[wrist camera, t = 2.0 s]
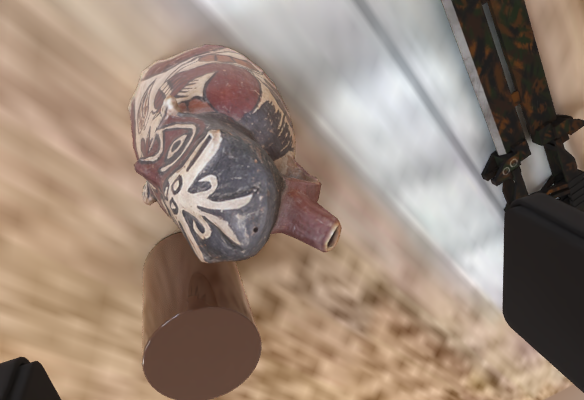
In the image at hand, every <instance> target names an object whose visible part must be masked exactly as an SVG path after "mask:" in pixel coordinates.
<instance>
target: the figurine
mask: <svg viewBox="0 0 584 400" xmlns="http://www.w3.org/2000/svg"><path fill="white" fill-rule="evenodd" d="M128 110H129V113H130V119H131V130H132V137H133V148H134V151H135V154H136V157H137V160H138V161H137V162H136V163H135V164H134V167H135V170H136V172H137V173H138V174H140V175H142V176H143V177H144V178H145V179H146V180H147V181H146V184H145V185H144V187H143V192H142V196H143V200H144V202H145V203H146V204H148V205H151V204H153V203H154V202H156V201H157V202H158V203H159V205H160V207H161V208H162V209H163V210H164V212H165V213H166V214H167V215H168V216H169V217H170V218H171V219H172V220H173V221H174V222H175V223H176V224H177V226H178V227H179V228H180V229H181V231H182V233H183V234H184V236H185V238H186V239H187V241H188V243H189V245H190V247H191V248H192V250H193V252H194V254H195V255H196V256H197V257H198V258H199V259H200V260H201V262H205V263H215V262H223V261H239V260H245V259H248V258H250V257H252V256H254V255H256V254H257V253H258V252H259V251H260V249H261V248H262V247H263V246H264V245H265V243H266V242H267V241H268V239H269V237H270V234H274V233H284V234H286V235H289V236H291V237H294V238H296V239H298V240H300V241H302V242H304V243H306V244H308V245H310V246H312V247H314V248H316V249H318V250H320V251H322V252H328V251H330V250H332V249H333V248H334V247H335V246H336V244H337V242H338V239H339V236H340V232H341V225H340V222H339V220H338V219H337V218H336V217H335V216H333V215H332V214H331V213H329V212H328V211H327V210H326V209H324V208H323V207H322V206H320V205H319V204H318V203H317V201H318V198H319V193H320V188H321V183H320V182H319V181H318V179H317V178H316V177H313V176H310V175H309V174H308V173H307V172H306V171H305V170H304V169H303V168H302V167H301V166H300V165H299V164H298V163H297V162H296V161H295V137H294V131H293V126H292V122H291V119H290V116H289V112H288V109H287V107H286V105H285V103H284V101H283V100H282V98H281V96H280V94H279V92H278V90H277V88H276V86H275V84H274V83H273V82H272V81H271V79H270V78H269V77H268V76H267V75H266V74H265V72H264V71H263V70H262V69H261V68H260V67H258V66H257V65H256V64H254V63H253V62H252V61H251V60H249V59H248V58H247V57H246V56H244V55H242V54H240V53H238V52H236V51H234V50H232V49H229V48H227V47H224V46H219V45H207V44H205V45H202V46H200V47H196V48H193V49H190V50H186V51H184V52H182V53H179V54H177V55H175V56H172V57H170V58H168V59H165V60H158V61H156V62H154V63H153V64H152V65H150V66H149V67H148V68H146V69H145V70H143V72H142V74H141V76H140V79H139V84H138V86H137V89H136V91H135V93H134V95H133V96H132V97H131V101H130V104H129V107H128Z"/></svg>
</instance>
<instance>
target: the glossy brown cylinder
mask: <svg viewBox="0 0 584 400" xmlns="http://www.w3.org/2000/svg"><path fill="white" fill-rule="evenodd" d="M260 355H261V338H260V334H259V331H258V328H257V325H256V322H255V319H254V316H253V313H252V310H251V307H250V304H249V301H248V298H247V295H246V292H245V289H244V286H243V283H242V280H241V277H240V274H239V271H238V268H237V265H236V262H235V261H223V262H215V263H205V262H201V260H200V259H199V258H198V257H197V256H196V255H195V254H194V252H193V250H192V248H191V247H190V245H189V243H188V241H187V239H186V238H185V236H184V234H183V233H182V232H179V233H176V234H173V235H171V236H169V237H167V238H165V239H163V240H162V241H160V242H159V243H158V244H157V245H156V246H155V247H154V248H153V249H152V250H151V252H150V253H149V254H148V256H147V258H146V261H145V263H144V268H143V326H142V366H143V371H144V374H145V377H146V378H147V380H148V382H149V383H150V384H151V386H152V387H153V388H154V389H155V390H157V391H158V392H159V393H161V394H162V395H164V396H167V397H169V398H172V399H175V400H210V399H214V398H217V397H220V396H222V395H225V394H227V393H229V392H230V391H232V390H234V389H235V388H237V387H238V386H239V385H241V384H242V383H243V382H244V381H245V380H246V379H247V378H248V377H249V376H250V375H251V373H252V372H253V371H254V369H255V367H256V365H257V363H258V361H259V358H260Z"/></svg>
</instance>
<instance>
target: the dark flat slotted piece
mask: <svg viewBox="0 0 584 400" xmlns="http://www.w3.org/2000/svg"><path fill="white" fill-rule="evenodd" d="M441 1H442V4H443V7H444V9H445V12H446V15H447V17H448V20H449V23H450V26H451V28H452V31H453V34H454V36H455V39H456V42H457V44H458V47H459V50H460V52H461V55H462V58H463V61H464V63H465V66H466V69H467V71H468V74H469V77H470V79H471V82H472V85H473V88H474V90H475V93H476V96H477V98H478V101H479V104H480V106H481V109H482V112H483V115H484V117H485V120H486V123H487V125H488V128H489V131H490V133H491V136H492V139H493V142H494V144H495V147H496V150H497V151H495V152H494V153H493V154H491V156H490V158H489V160H488V162H487V164H486V166H485V168H484V170H483V172H482V174H481V175H482V177H483V179H485V180H486V181H489V180H491V182H492V184H494V185H496V186H498V185H500V184H501V183H503V194H504V196H505V199H506V201H507V205H506V208H505V209H504V211H505V212H506V211H507V210H508V209H509V207H510V204H511V203H512V202H513V201H514V200H516V199H519V198H522V197H525V196H529V195H528V192H527V189H526V186H525V183H524V181H523V178H522V175H521V169H520V165H521V161H522V160H524V159H525V158H526V157H528V156H529V155H531V152H530V149H529V146H528V143H527V140H526V139H525V136H524V133H523V130H522V127H521V123H520V120H519V117H518V114H517V111H516V108H515V107H516V106H517V105H518V104H520V106H521V109H522V112H523V115H524V118H525V121H526V124H527V128H528V131H529V134H530V136H531V139H532V142H533V143H536V144H539V145H541V146H544V149H545V152H546V155H547V159H548V162H549V165H550V168H551V172H552V176H551V177H550V179H549V180H548V181H547V183H546V184H545V185H544V186H543V188H542V189H541V190H540V191H538V192H535V193H540V192H541V193H545V194H547V195H549V196H551V197H553V198H557V197H559V198H560V199H559V200H560V201H562V202H564V203H566V204H568V205H570V206H572V207H574V208H576V209H578V210H580V211H582V212H584V172H583V171H581V170H578V169H577V165H576V161H575V158H574V157H573V156H572V155H571V154H570V153H569V152H567V151H566V150H565V149H564V145H563V143H564V142H565V141H567V140H568V139H569V136H568V134H570V135H572V134H573V133H575V132H576V131H577V130H579V129H580V128H582V127H583V126H584V120H581V119H573V117H571V116H567V115H557V114H556V113H555V109H554V106H553V102H552V98H551V95H550V91H549V88H548V84H547V80H546V77H545V73H544V70H543V66H542V63H541V59H540V55H539V52H538V48H537V45H536V41H535V37H534V34H533V30H532V27H531V23H530V20H529V16H528V12H527V9H526V5H525V2H524V0H441ZM486 2H487V3H488V6H489V9H490V12H491V15H492V18H493V21H494V24H495V28H496V31H497V34H498V37H499V40H500V43H501V46H502V49H503V53H504V56H505V59H506V62H507V65H508V68H509V71H510V74H511V78H512V81H513V84H514V87H515V90H516V91H515V92H513V93H512V94H511V93H510V90H509V87H508V84H507V81H506V78H505V75H504V72H503V69H502V65H501V62H500V59H499V56H498V53H497V50H496V47H495V44H494V41H493V38H492V35H491V32H490V29H489V26H488V23H487V20H486V17H485V14H484V11H483V7H482V5H483V4H484V3H486ZM494 176H495V177H494ZM514 181H515V183H514ZM553 183H554V186H552V185H553ZM551 186H552V187H551ZM535 193H532V194H535ZM550 193H551V194H550ZM532 194H530V195H532Z"/></svg>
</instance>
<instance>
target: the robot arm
mask: <svg viewBox="0 0 584 400" xmlns="http://www.w3.org/2000/svg"><path fill="white" fill-rule="evenodd" d="M503 315H504V318H505V320H506V322H507V323H508V325H509V326H510V327H511V328H512V329H513V330H514V331H515V332H516V333H518V334H519V335H520V336H521V337H522V338H523V339H524V340H525V341H526V342H528V343H529V344H530V345H531V346H532V347H533V348H534V349H535V350H536V351H538V352H539V353H540V354H541V355H542V356H543V357H544V358H545V359H546V360H548V361H549V362H550V363H551V364H552V365H553V366H554V367H555V368H557V369H558V370H559V371H560V372H561V373H562V374H563V375H564V376H565V377H567V378H568V379H569V380H570V381H571V382H572V383H573V384H574V385H575V386H577V387H578V388H579V389H580V390H581V391H582V392H583V393H584V212H582V211H580V210H578V209H576V208H574V207H572V206H570V205H568V204H566V203H564V202H562V201H560V200H558V199H555V198H553V197H551V196H549V195H547V194H545V193H541V192H540V193H535V194H532V195H529V196H525V197H522V198H519V199H516V200H514V201H513V202H512V203H511V204H510V207H509V209H508V210H507V211H506V213H505V217H504V267H503ZM0 400H61V399H60V397H59V395H58V393H57V391H56V390H55V388H54V386H53V384H52V382H51V380H50V379H49V377H48V375H47V373H46V371H45V370H44V368H43V366H42V365H41V363H39V362H38V361H34V362H31V363H30V362H29V360H27V359H26V358H25V357H19V358H16V359H13V360H10V361H7V362H3V363H0Z"/></svg>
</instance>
